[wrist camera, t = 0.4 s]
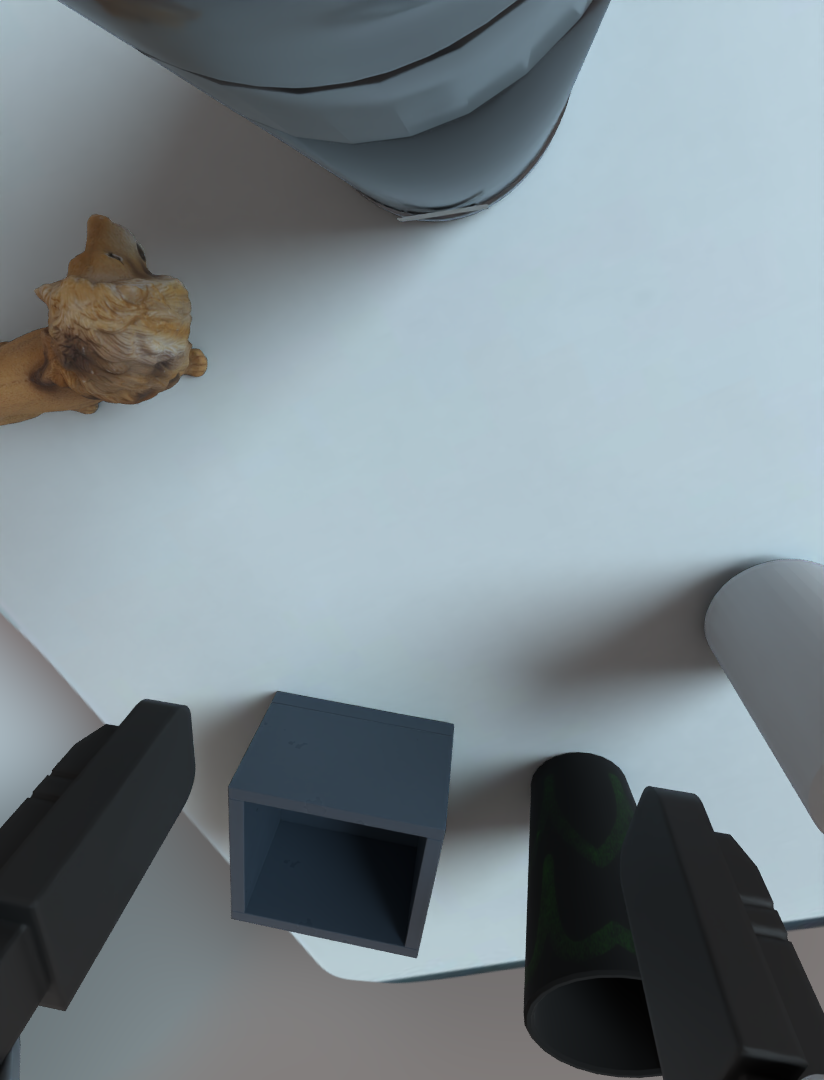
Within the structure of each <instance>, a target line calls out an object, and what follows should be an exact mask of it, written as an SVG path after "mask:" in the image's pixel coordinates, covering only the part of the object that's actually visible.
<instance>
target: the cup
mask: <svg viewBox="0 0 824 1080" xmlns="http://www.w3.org/2000/svg"><path fill="white" fill-rule="evenodd" d="M636 808H637V806H636V803H635V801H634V798H633V795H632V793H631V790H630V788H629V785H628V783H627V780H626V778H625V775H624V774H623V772H622V771H621V770H620V768H619V767H617V766H616V765H615V764H614V763H613V762H611V761H609V760H607V759H605V758H603V757H601V756H597V755H593V754H589V753H568V754H563V755H560V756H556V757H554V758H552V759H550V760H548V761H546V762H545V763H544V764H543V765H541V766H540V767H539V768H538V769H537V771H536V772H535V774H534V775H533V779H532V782H531V806H530V836H529V866H528V897H527V927H526V958H525V988H524V1022H525V1026H526V1028H527V1030H528V1032H529V1034H530V1036H531V1038H532V1039H533V1040H534V1041H535V1042H536V1043H537V1044H538V1045H539V1046H540V1047H541V1048H542V1049H543V1050H544V1051H545V1052H547V1053H548V1054H550V1055H551V1056H553V1057H554V1058H556V1059H557V1060H559V1061H561V1062H564V1063H566V1064H568V1065H570V1066H573V1067H575V1068H577V1069H581V1070H585V1071H588V1072H592V1073H595V1074H601V1075H607V1076H615V1077H630V1078H643V1077H653V1076H662V1071H661V1066H660V1062H659V1057H658V1053H657V1048H656V1043H655V1039H654V1034H653V1030H652V1025H651V1020H650V1016H649V1011H648V1007H647V1002H646V997H645V993H644V988H643V984H642V979H641V974H640V970H639V965H638V960H637V956H636V951H635V947H634V942H633V937H632V933H631V928H630V924H629V919H628V914H627V910H626V905H625V901H624V896H623V891H622V886H621V880H620V854H621V848H622V844H623V841H624V839H625V836H626V834H627V831H628V829H629V826H630V823H631V821H632V818H633V816H634V813H635V811H636Z"/></svg>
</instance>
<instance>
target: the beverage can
mask: <svg viewBox="0 0 824 1080" xmlns="http://www.w3.org/2000/svg"><path fill="white" fill-rule="evenodd" d="M705 635H706V639H707V642H708V644H709V647H710V648H711V650H712V652H713V654H714V655H715V657H716V659H717V660H718V662H719V664H720V665H721V667H722V669H723V670H724V672H725V674H726V675H727V677H728V679H729V680H730V682H731V684H732V685H733V687H734V689H735V690H736V692H737V694H738V695H739V697H740V699H741V700H742V702H743V704H744V706H745V707H746V709H747V711H748V712H749V714H750V716H751V717H752V719H753V721H754V722H755V724H756V726H757V727H758V729H759V731H760V732H761V734H762V736H763V737H764V739H765V741H766V742H767V744H768V746H769V747H770V749H771V751H772V752H773V754H774V756H775V757H776V759H777V761H778V763H779V764H780V766H781V768H782V769H783V771H784V773H785V774H786V776H787V778H788V779H789V781H790V783H791V784H792V786H793V788H794V789H795V791H796V793H797V794H798V796H799V798H800V799H801V801H802V803H803V804H804V806H805V808H806V809H807V811H808V813H809V815H810V816H811V818H812V820H813V821H814V823H815V824H816V826H817V827H818V829H819V830H820V831H821V832H822V833H823V834H824V566H823V565H821V564H818V563H815V562H812V561H807V560H800V559H781V560H774V561H769V562H765V563H761V564H758V565H756V566H753V567H751V568H749V569H747V570H745V571H743V572H741V573H739V574H738V575H736V576H735V577H733V578H732V579H730V580H729V581H728V582H727V583H726V584H725V585H724V586H723V587H722V588H721V589H720V590H719V591H718V592H717V594H716V595H715V596H714V598H713V599H712V601H711V603H710V606H709V608H708V610H707V613H706V617H705Z"/></svg>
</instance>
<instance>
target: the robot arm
mask: <svg viewBox="0 0 824 1080" xmlns="http://www.w3.org/2000/svg"><path fill="white" fill-rule="evenodd" d="M57 1H59V2H61V3H62V4H64V5H65V6H67V7H69V8H70V9H72V10H74V11H75V12H77V13H78V14H80V15H82V16H83V17H85V18H86V19H88V20H90V21H91V22H93V23H95V24H96V25H98V26H99V27H101V28H103V29H104V30H106V31H107V32H109V33H111V34H112V35H114V36H115V37H117V38H119V39H120V40H122V41H124V42H125V43H127V44H129V45H131V46H132V47H134V48H135V49H137V50H138V51H140V52H141V53H143V54H144V55H146V56H147V57H149V58H150V59H152V60H154V61H155V62H157V63H158V64H160V65H161V66H163V67H165V68H166V69H168V70H169V71H171V72H173V73H174V74H176V75H177V76H179V77H181V78H182V79H184V80H185V81H187V82H188V83H190V84H192V85H193V86H195V87H196V88H198V89H200V90H201V91H203V92H204V93H206V94H207V95H209V96H211V97H212V98H214V99H215V100H217V101H219V102H220V103H222V104H223V105H225V106H227V107H228V108H230V109H231V110H233V111H234V112H236V113H238V114H239V115H241V116H243V117H245V118H246V119H248V120H249V121H251V122H253V123H254V124H256V125H257V126H259V127H260V128H262V129H264V130H265V131H267V132H268V133H270V134H271V135H273V136H275V137H276V138H278V139H279V140H281V141H282V142H284V143H286V144H287V145H289V146H290V147H292V148H293V149H295V150H297V151H298V152H300V153H301V154H303V155H304V156H306V157H308V158H309V159H311V160H312V161H314V162H315V163H317V164H319V165H320V166H322V167H323V168H325V169H326V170H328V171H330V172H331V173H333V174H334V175H336V176H337V177H339V178H341V179H342V180H344V181H345V182H347V183H348V184H350V185H351V186H352V187H354V188H355V189H356V190H357V191H358V192H359V193H360V194H362V195H363V196H364V197H366V198H367V199H369V200H370V201H371V202H373V203H375V204H376V205H378V206H380V207H382V208H383V209H385V210H387V211H389V212H392V213H394V214H396V215H399V216H402V218H396V219H398V220H399V221H401V222H405V221H411V220H419V221H431V222H434V221H448V220H455V219H459V218H463V217H467V216H469V215H472V214H475V213H477V212H480V211H482V210H484V209H488V207H490V206H491V205H493V204H495V203H496V202H498V201H499V200H501V199H502V198H504V197H505V196H506V195H507V194H509V193H510V192H511V191H512V190H514V189H515V188H516V187H517V186H518V185H519V184H520V183H521V182H522V181H523V180H524V179H525V178H526V176H527V175H528V174H529V173H530V172H531V171H532V170H533V168H534V167H535V166H536V164H537V163H538V162H539V160H540V159H541V157H542V156H543V154H544V152H545V151H546V149H547V148H548V146H549V144H550V142H551V140H552V138H553V136H554V134H555V132H556V130H557V128H558V126H559V124H560V121H561V119H562V116H563V114H564V111H565V109H566V106H567V103H568V100H569V96H570V93H571V90H572V88H573V85H574V83H575V81H576V79H577V76H578V74H579V72H580V69H581V67H582V65H583V63H584V60H585V58H586V56H587V53H588V51H589V49H590V47H591V44H592V42H593V40H594V37H595V35H596V33H597V31H598V28H599V26H600V24H601V21H602V19H603V17H604V15H605V12H606V10H607V8H608V5H609V3H610V1H611V0H57ZM194 776H195V757H194V745H193V734H192V722H191V713H190V709H189V708H188V707H187V706H185V705H179V704H173V703H167V702H161V701H156V700H150V699H144V700H142V701H140V702H139V703H138V704H137V705H136V706H135V707H134V708H133V710H132V711H131V712H130V713H129V715H128V716H127V717H126V718H125V719H124V721H123V722H122V723H121V724H120V725H119V726H115V725H109V724H105V725H104V726H102V727H101V728H99V729H98V730H96V731H95V732H93V733H91V734H90V735H88V736H87V737H85V738H84V739H82V740H81V741H79V742H78V743H76V744H75V745H74V746H73V747H72V748H71V749H70V750H69V752H68V753H67V754H66V755H65V756H64V757H63V758H62V760H61V761H60V762H59V763H58V764H57V765H56V766H55V768H53V770H52V773H51V775H50V776H48V775H47V776H46V778H45V779H44V780H43V781H42V782H41V783H40V784H39V785H38V786H37V788H36V789H35V790H34V791H33V794H32V796H31V798H27V799H26V800H25V801H24V802H23V803H22V804H21V806H20V807H19V808H18V809H17V810H16V811H15V813H13V815H12V816H11V817H10V818H9V819H8V820H7V821H6V822H5V824H4V825H3V826H2V827H1V828H0V1080H20V1034H21V1032H22V1031H23V1029H24V1028H25V1026H26V1024H27V1023H28V1021H29V1020H30V1018H31V1016H32V1014H33V1013H34V1011H35V1010H36V1008H37V1007H38V1005H39V1006H43V1007H48V1008H53V1009H58V1010H62V1011H66V1009H67V1007H68V1006H69V1004H70V1002H71V1000H72V999H73V997H74V995H75V994H76V992H77V990H78V988H79V987H80V985H81V983H82V981H83V980H84V978H85V976H86V975H87V973H88V971H89V969H90V968H91V966H92V964H93V962H94V961H95V959H96V957H97V956H98V954H99V952H100V950H101V949H102V947H103V945H104V943H105V942H106V940H107V938H108V937H109V935H110V933H111V931H112V929H113V928H114V926H115V924H116V923H117V921H118V919H119V918H120V916H121V914H122V912H123V910H124V909H125V907H126V905H127V904H128V902H129V900H130V898H131V897H132V895H133V893H134V892H135V890H136V888H137V886H138V885H139V883H140V881H141V880H142V878H143V876H144V874H145V873H146V871H147V869H148V867H149V866H150V864H151V862H152V860H153V859H154V857H155V855H156V854H157V852H158V850H159V848H160V847H161V845H162V843H163V841H164V840H165V838H166V836H167V834H168V832H169V831H170V829H171V828H172V826H173V824H174V823H175V821H176V819H177V817H178V816H179V814H180V812H181V810H182V809H183V807H184V805H185V803H186V801H187V799H188V797H189V794H190V792H191V789H192V785H193V781H194ZM620 880H621V886H622V891H623V896H624V901H625V905H626V910H627V914H628V919H629V924H630V928H631V933H632V937H633V942H634V947H635V951H636V956H637V960H638V965H639V970H640V974H641V979H642V984H643V988H644V993H645V997H646V1002H647V1007H648V1011H649V1016H650V1020H651V1025H652V1030H653V1034H654V1039H655V1043H656V1048H657V1053H658V1057H659V1062H660V1066H661V1071H662V1076H663V1080H824V1013H823V1011H822V1008H821V1006H820V1004H819V1002H818V1000H817V997H816V995H815V993H814V991H813V989H812V986H811V984H810V982H809V980H808V978H807V975H806V973H805V971H804V969H803V967H802V964H801V962H800V960H799V958H798V956H797V954H796V951H795V949H794V947H793V945H792V943H791V942H789V941H788V939H787V931H786V929H785V927H784V925H783V923H782V920H781V918H780V916H779V914H778V912H777V910H774V908H773V904H774V903H773V901H772V898H771V896H770V894H769V892H768V890H767V887H766V885H765V883H764V881H763V879H762V876H761V874H760V872H759V870H758V868H757V866H756V865H755V864H754V863H753V861H752V860H751V859H750V858H749V857H748V855H747V854H746V853H745V852H744V851H743V849H742V848H741V847H740V846H739V845H738V843H737V842H736V841H735V840H734V839H733V837H732V836H731V835H729V834H724V833H718V832H714V831H713V828H712V826H711V823H710V821H709V818H708V816H707V813H706V811H705V808H704V806H703V804H702V802H701V800H700V798H699V797H698V796H697V795H695V794H692V793H686V792H680V791H675V790H669V789H663V788H657V787H651V786H648V787H646V788H645V789H644V791H643V793H642V795H641V798H640V800H639V803H638V805H637V808H636V811H635V813H634V816H633V818H632V821H631V823H630V826H629V829H628V831H627V834H626V836H625V839H624V841H623V844H622V848H621V854H620Z"/></svg>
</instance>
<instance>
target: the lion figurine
mask: <svg viewBox="0 0 824 1080" xmlns="http://www.w3.org/2000/svg"><path fill="white" fill-rule="evenodd" d="M34 292H35V293H36V295H37V296H38V297H39V298H40V299H41V300H42V301H43V302H45V303H46V304H47V306H48V309H49V312H48V317H49V319H48V324H49V326H48V327H45V328H41V329H37V330H34V331H32V332H30V333H27V334H25V335H23V336H20V337H18V338H16V339H14V340H13V341H11V342H1V343H0V426H1V425H6V424H11V423H17V422H21V421H25V420H28V419H32V418H35V417H37V416H39V415H41V414H43V413H45V412H54V411H66V410H73V411H78V412H81V413H84V414H92V413H94V412H96V410H97V409H98V403H99V402H101V401H105V402H109V403H122V404H138V403H140V402H142V401H145V400H149V399H151V398H153V397H154V396H156V395H157V394H158V393H159V392H162V391H164V390H167V389H170V388H171V387H173V386H174V385H175V384H176V383H177V382H178V381H179V379H180V377H181V376H182V375H183V374H186V375H191V376H194V377H199V376H202V375H203V374H204V373H205V371H206V369H207V358H206V357H205V356H204V354H203V352H202V351H201V350H200V349H191V348H192V344H191V343H190V342H189V341H188V337H189V334H190V324H191V320H192V317H191V315H190V312H191V303H190V300H189V298H188V291H187V290H186V289H185V286H184V285H183V284H182V283H181V282H180V281H179V280H178V279H177V278H176V279H175V278H172V277H171V276H166V275H153V274H152V273H151V272H149V270H148V268H147V264H146V258H145V253H144V249H143V247H142V246H141V245H140V243H139V242H137V241H136V240H135V237H134V235H133V234H132V233H131V232H130V231H129V230H128V229H126V228H125V227H123V226H121V225H119V224H116V223H114V222H112V221H111V220H110V219H109V218H108V217H106V216H103V215H98V214H93V215H92V216H91V217H90V218H89V219H88V221H87V241H86V248H85V251H84V252H83V253H81V254H79V255H77V256H76V257H75V258H73V259H72V260H71V261H70V263H69V267H68V274H67V277H66V278H64V279H62V280H60V281H57V282H54V283H51V284H44V285H42V286H40V287H39V288H36V289H35V290H34Z"/></svg>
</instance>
